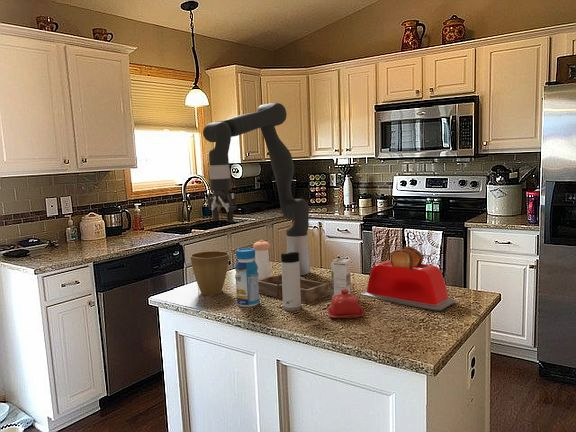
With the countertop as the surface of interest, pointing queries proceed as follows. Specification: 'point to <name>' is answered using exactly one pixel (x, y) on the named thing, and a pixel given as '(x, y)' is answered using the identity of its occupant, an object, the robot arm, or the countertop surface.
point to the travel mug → (291, 281)
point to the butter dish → (345, 306)
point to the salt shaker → (262, 259)
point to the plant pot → (210, 271)
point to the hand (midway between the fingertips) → (223, 221)
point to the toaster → (408, 282)
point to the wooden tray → (307, 287)
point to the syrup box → (340, 276)
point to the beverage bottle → (246, 278)
